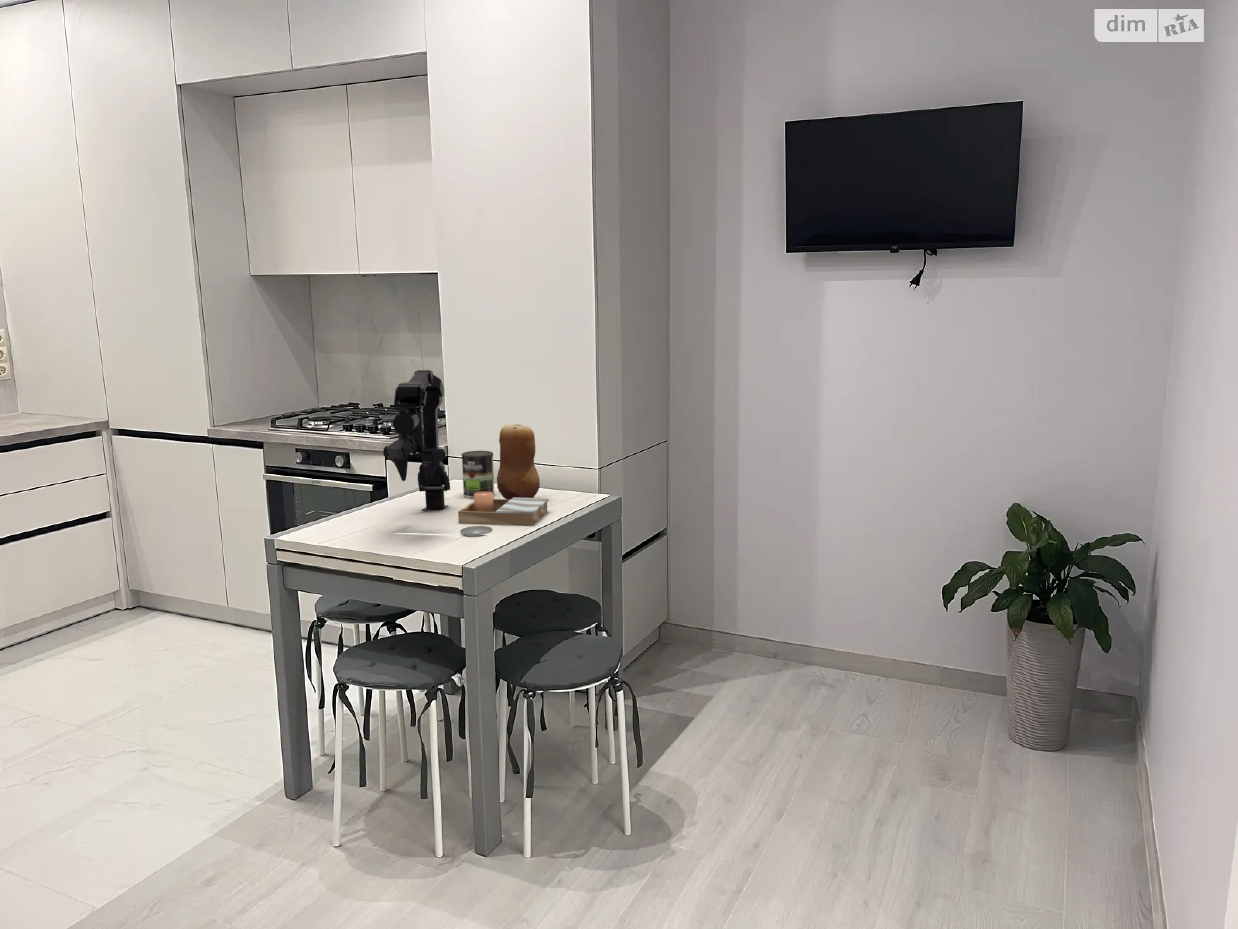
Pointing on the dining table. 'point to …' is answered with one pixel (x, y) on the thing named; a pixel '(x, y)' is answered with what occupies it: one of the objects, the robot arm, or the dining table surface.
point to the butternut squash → (517, 463)
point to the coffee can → (477, 472)
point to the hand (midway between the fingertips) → (416, 482)
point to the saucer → (475, 531)
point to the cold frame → (506, 512)
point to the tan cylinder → (484, 501)
